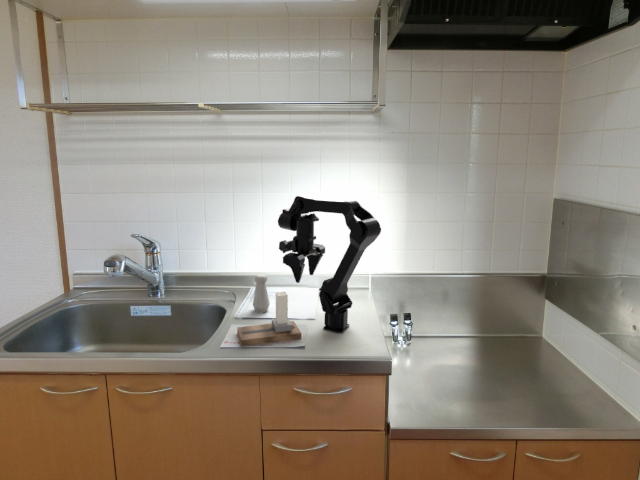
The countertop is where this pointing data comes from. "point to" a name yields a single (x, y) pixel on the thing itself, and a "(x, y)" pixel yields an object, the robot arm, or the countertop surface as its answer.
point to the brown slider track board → (265, 334)
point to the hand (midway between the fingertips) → (304, 278)
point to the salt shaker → (261, 294)
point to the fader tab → (281, 314)
